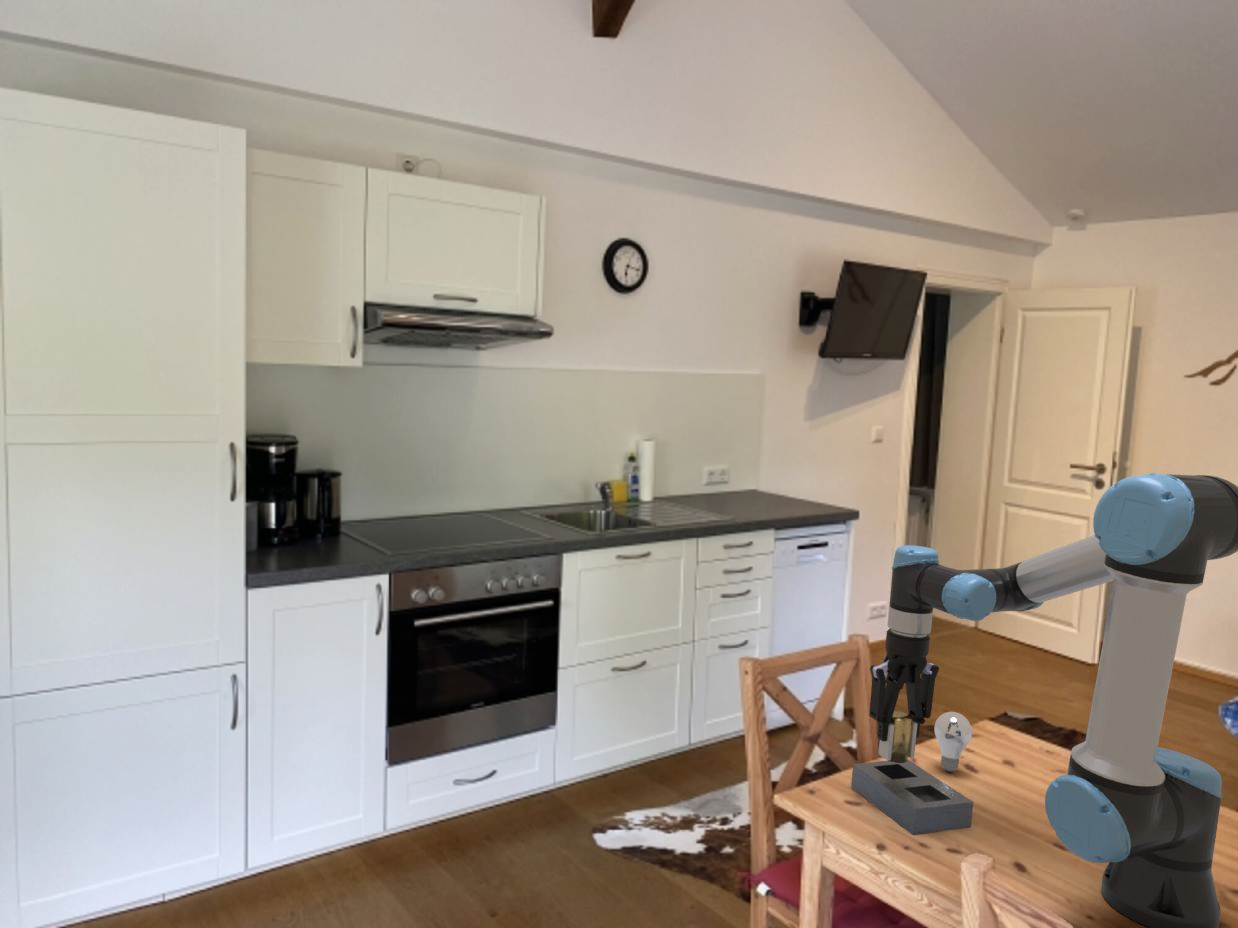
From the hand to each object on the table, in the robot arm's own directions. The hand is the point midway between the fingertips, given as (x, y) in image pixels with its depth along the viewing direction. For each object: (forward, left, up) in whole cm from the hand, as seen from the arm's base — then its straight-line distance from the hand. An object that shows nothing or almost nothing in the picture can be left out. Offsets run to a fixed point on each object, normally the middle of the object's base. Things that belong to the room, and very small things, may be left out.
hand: (896, 755), depth 166 cm
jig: (-5, 0, -7) cm, 9 cm away
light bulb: (+6, -18, -8) cm, 21 cm away
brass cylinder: (0, 0, 0) cm, 1 cm away
